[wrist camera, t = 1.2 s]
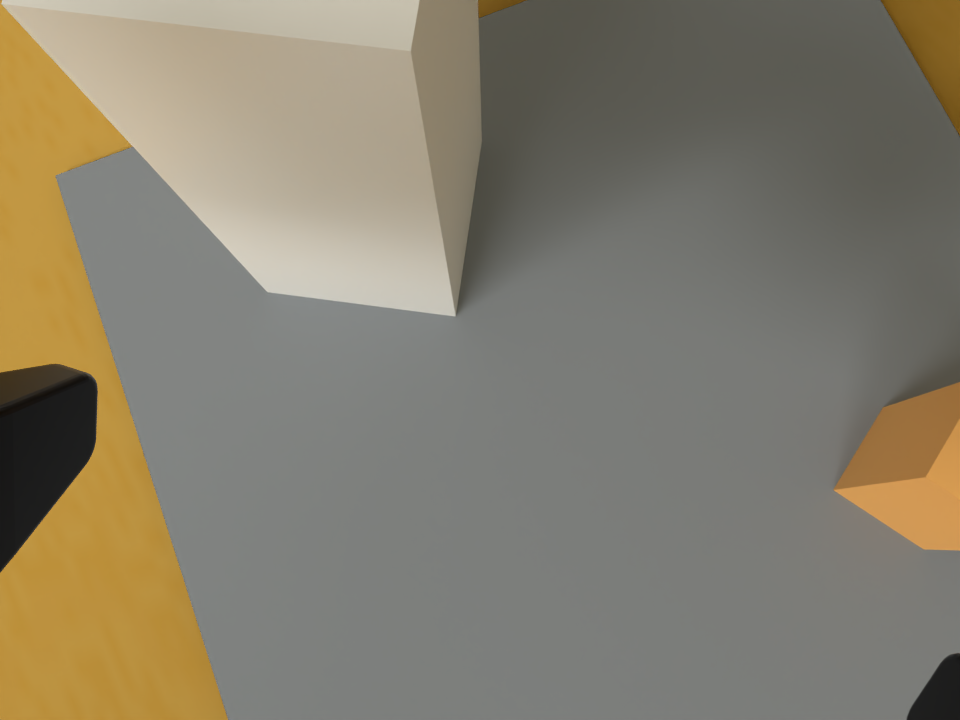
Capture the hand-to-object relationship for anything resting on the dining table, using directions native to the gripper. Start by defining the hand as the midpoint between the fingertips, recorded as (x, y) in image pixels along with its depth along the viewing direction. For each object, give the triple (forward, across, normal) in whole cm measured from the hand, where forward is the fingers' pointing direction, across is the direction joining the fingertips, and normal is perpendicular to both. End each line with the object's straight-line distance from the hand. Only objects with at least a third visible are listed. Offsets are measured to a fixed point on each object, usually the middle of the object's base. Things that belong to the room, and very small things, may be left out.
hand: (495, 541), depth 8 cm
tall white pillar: (+15, +6, +2) cm, 16 cm away
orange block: (+13, -10, +4) cm, 17 cm away
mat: (+13, -2, +5) cm, 14 cm away
